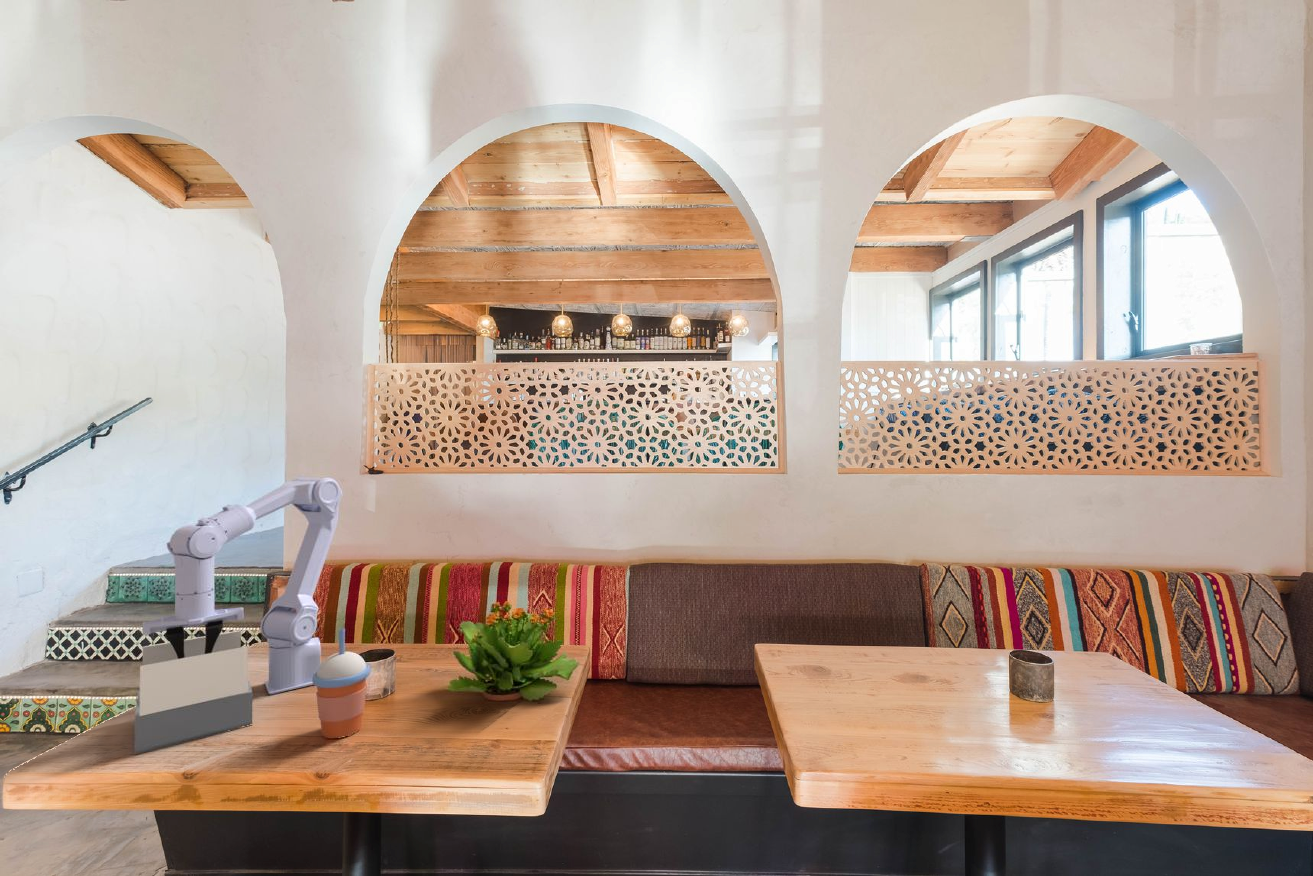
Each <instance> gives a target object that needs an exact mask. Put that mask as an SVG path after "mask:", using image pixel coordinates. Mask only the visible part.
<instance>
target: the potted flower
mask: <svg viewBox="0 0 1313 876" xmlns="http://www.w3.org/2000/svg"><path fill="white" fill-rule="evenodd" d="M510 602H511V601H510V600H509V601H505V602H504V603H503V605H502V606H501V605H500V602H499V601H498V602H497V601H496V602H492V604H491V606H490V609H489V612H490V613H488V615H486V616H485V622H486V623H481V622H476V623H475V624H474V622H473V621H470V620H468V621H461V623H459V628H458V629H457V630H458V632H460V633H461V634H463V636H464V641H465V643H466V644H467V645H468V653H469V656H468V655H466V654H465V653H461V652H460V651H456V650H453V652H452V653H453V655H454V657H455V659H456V660H457V661H458V663H459V664H460V665H461V666H462V668H464V669H465V670H466V671H468V672H469V673H471V674H473V675H475V677H473V678H472V679H471V678H470V677H467V676H460V675H459V676H458V679H455V678H454V679H452V680H449V684H448V685H447V686H446V690H447V691H449V692H473V693H481V694H482V696H483V697H484V698H485V699H487V700H489V701H493V702H505V701H508V702H509V701H515V700H518V699H521V698H523V699H524V700H526V701H527V700H528V701H530V702H532V701H533V700H534V701H539V700H540V699H542V698H544V696H546V695H548V694H549V693H552V692H554V691H555V690H556V689H557V688H558V685H557V683H554V682H553V681H550V680H549V679H545V678H554V677H558V678H561V679H564V680H566V681H569V680H570V679H571V676H572V674H573V672H574V671H575V670H576V669H577V667H578V666H579V665H580V661H577V659H576V658H568V654H567V653H566V652H564V653H562V654H561V655H560V656H559V657H557V656H558V655H559V654H558V652H559V651H560V649H561V648H562V645H563V643H564V642H563V640H557V639H556V640H555V641H552V640H551V639H550V637H548V638H547V640H546V636H547V632H548V630H549V628H550V624H551V622H552V621H556V617H555V612H553V610H554V609H548V608H544V609H540V611H539V612H540V613H541V614H540V616H539V614H537V613H536V612H533V613H528V612H526V610H525V609H524V607H516V608H514V609H513V611H512V613H511V614H512V615H511V614H510V610H511V609H512V606H513V605H512V604H511V603H510ZM501 611H503V612H506V613H507V614H504V615H503V612H501ZM540 617H542V618H543V619H540ZM543 634H544V635H543ZM545 640H546V641H545ZM556 657H557V658H556ZM554 658H556V659H554Z"/></svg>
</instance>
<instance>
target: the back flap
mask: <svg viewBox="0 0 1313 876" xmlns="http://www.w3.org/2000/svg"><path fill="white" fill-rule="evenodd" d="M241 638H242V630H241V629H240V630H234V631H229V632H228V631H227V632H221V633H220V634H219V636H218V638H217V640H216V643H215V645H214V648H213V650H212V653H214V652H220V651H225V650H230V649H236V648H241V647H242V646H241V645H242V641H241ZM205 643H206V637H205V635H204V636H198V637H193V638H187V639H185V638H184V655H185V658H187V657H192V656H198V655H203V654H205ZM176 659H178V657H177V654H176V652H175V650H174V648H173V646H172V645H171V643H170V642H164V643H163V642H162V643H157V644H150V645H144V646H142V666H143V665H149V664H154V663H160V662H165V661H170V660H176Z"/></svg>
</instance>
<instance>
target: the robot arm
mask: <svg viewBox="0 0 1313 876" xmlns="http://www.w3.org/2000/svg"><path fill="white" fill-rule="evenodd" d="M343 495H344V493H343V491H342V489H341V487H340V485H339V483H338V482H337V481H336V480H335V479H334V478H331V477H322V478H318V477H317V478H316V477H315V478H314V477H302V476H299V477H295V478H293V479H292V480H288V481H285V482H284V483H282V485H280V486H279V487H276V488H275V489H274V490H272V491H270V492H267V494H264V495H263V496H261V497H259V498H258V499H256V500H254V501H252V502H251V503H249V504H247V505H245V506H244V505H241V504H226V505H224V506H222V510H221V511H219V512H217V513H214V514H213V515H211V516H209V517H201V518H200V519H198V520H197V523H196V524H195V525H184V526H181V527H179V528H178V529H176V530H175V531H174V533H173V534H172V535H171V536H170V540H169V541H168V542H166V549H167V550H168V552H169V553H170V554H171V555H172V556H173V558H174V561H173V562H174V600H175V601H174V608H175V609H174V615H172V616H167V617H163V618H159V619H154V620H148V621H143V622H142V636H146V635H151V634H153V633H160V632H166V634H165V635H166V638H167V640H168V641H169V642H170V643H171V645H172V646H173V648H174V650H175V652H176V654H177V657H178V659H181V658H185V655H184V640H185V628H186V629H187V628H191V627H192V628H193V627H198V626H203V625H205V634H204V636H205V637H206V643H205V654H209V653H212V650H213V648H214V645H215V643H216V640H217V638H218V636H219V634H221V633H222V630H223V628H224V623H225V622H229V621H230V622H231V621H235V620H236V621H243V620H244V616H245V615H244V612H245V611H244V607H243V606H242V607H235V608H233V607H232V608H224V609H223V608H221V609H215V564H216V563H215V556H216V555H217V554H218V553H220V551H221V549H222V547H223V545H225V544H227V543H229V542H230V541H233V540H235V539H236V538H238V537H240V536H242V535H244V534H246V533H247V532H249V531H251V530H253V528H254V526H255V523H256V521H257V520H260V519H261V518H264V517H266V516H268V515H271V514H273V513H275V512H277V511H278V510H280V509H283V508H285V507H287V506H289V505H292V506H293V507H295V508H296V509H297V510H298V511H299V512H301V514H303V516H305V519H306V520H307V522H308V524H307V528H306V530H305V533H304V536H303V539H302V542H301V545H300V547H299V550H298V553H297V556H296V557H295V558H296V559H295V562H294V565H293V568H292V571H291V573H290V576H289V578H288V581H287V584H286V587H285V589H284V593H282V595H280V596H279V597H278V598H276V599H275V600H274V601H273V602H272V604H271V606H270V608H269V610H268V611H267V612H266V614H265V615H264V616H263V617H262V619H261V622H260V626H259V627H260V633H261V635H262V636H263V637H264V638H266V640H267V641H266V643H267V644H268V680H267V679H266V680H265V681H264V685H265V688H266V691H267V693H268V695H274V694H279V693H282V692H283V693H284V692H286V691H291V690H292V691H293V690H296V689H300V688H304V687H308V686H309V687H310V686H312V685H313V686H315V685H314V684H313V682H312V678H313V675H314V674H315V672H317V671H318V669H319V667H320V665H321V664H322V648H321V641H320V638H319V636H318V637H313V636H314V635H315V633H316V630H317V628H318V619H317V618H318V612H319V609H320V608H319V606H318V605H317V603H316V602H315V601H314V599H313V597H314V594H315V591H316V588H317V585H318V582H319V580H320V576H321V573H322V571H323V567H324V564H325V561H326V559H327V556H328V553H329V550H330V547H331V544H332V541H333V537H334V536H335V532H336V529H337V526H338V523H339V518H340V517H339V516H340V515H339V514H340V513H339V512H340V511H339V510H340V509H339V508H340V503H341V500H342V498H343Z"/></svg>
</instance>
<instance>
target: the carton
mask: <svg viewBox="0 0 1313 876" xmlns="http://www.w3.org/2000/svg"><path fill="white" fill-rule="evenodd" d="M137 689H138V691H137V698H136V706H135V707H136V708H135V713H134V756H136V755H140V754H144V753H148V752H153V751H157V750H160V749H164V748H168V747H172V746H176V745H180V744H183V743H187V742H191V741H195V740H194V739H196V740H199V739H204V738H207V737H206V736H208V737H211V736H210V735H212V736H215V735H214V734H216V735H219V734H223V733H227V732H229V731H228V730H231V731H234V729H235V730H238V729H237V728H239V727H242V726H247V725H250V724H252V725H253V689H252V687H251V684H250V682H249V680H248V692H245V693H241V694H236V695H232V696H227V697H223V698H219V699H214V700H210V701H205V702H201V703H196V704H192V705H187V706H183V707H178V708H174V709H169V710H165V711H160V712H156V713H152V714H147V715H143V716H140V687H138V688H137ZM247 727H248V726H247ZM239 729H240V728H239ZM226 731H227V732H226ZM218 733H219V734H218Z"/></svg>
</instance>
